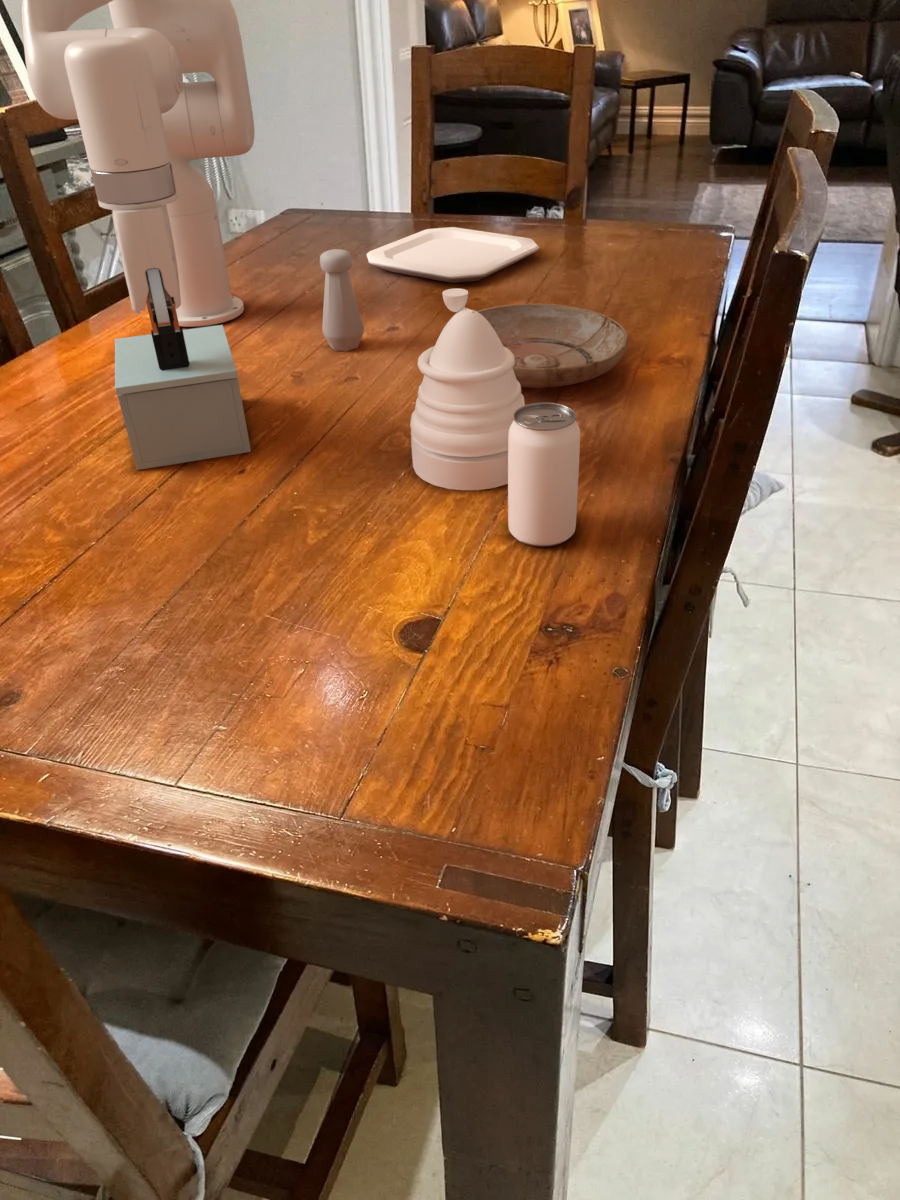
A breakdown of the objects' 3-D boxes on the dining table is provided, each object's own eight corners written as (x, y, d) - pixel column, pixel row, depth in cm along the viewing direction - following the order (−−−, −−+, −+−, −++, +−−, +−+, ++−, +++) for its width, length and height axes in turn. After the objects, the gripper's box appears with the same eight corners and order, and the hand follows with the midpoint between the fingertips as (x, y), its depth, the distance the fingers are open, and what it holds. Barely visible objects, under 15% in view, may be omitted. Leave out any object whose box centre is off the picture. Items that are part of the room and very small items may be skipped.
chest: (251, 452, 106) (237, 378, 101) (136, 470, 103) (117, 395, 98) (236, 399, 118) (224, 331, 113) (133, 414, 116) (116, 345, 110)
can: (504, 516, 92) (503, 402, 85) (568, 511, 93) (573, 398, 86) (513, 551, 87) (513, 433, 80) (581, 546, 87) (588, 428, 80)
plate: (438, 236, 178) (437, 224, 176) (550, 253, 165) (550, 240, 164) (353, 270, 162) (352, 257, 160) (470, 292, 149) (470, 278, 148)
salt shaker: (358, 354, 129) (349, 258, 122) (319, 352, 130) (307, 257, 123) (369, 339, 134) (361, 245, 126) (331, 337, 135) (321, 245, 127)
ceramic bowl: (464, 414, 112) (463, 375, 109) (436, 345, 131) (434, 310, 128) (650, 396, 114) (654, 356, 112) (596, 330, 133) (598, 295, 130)
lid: (238, 377, 100) (236, 370, 100) (116, 395, 97) (114, 388, 97) (223, 331, 113) (222, 324, 113) (116, 345, 110) (114, 338, 110)
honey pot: (390, 458, 103) (376, 296, 93) (481, 425, 109) (478, 269, 99) (459, 503, 95) (453, 329, 84) (554, 464, 101) (560, 298, 90)
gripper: (96, 174, 96) (137, 347, 106) (94, 206, 84) (141, 397, 95) (170, 167, 97) (204, 338, 108) (179, 197, 86) (215, 386, 96)
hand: (174, 365), depth 101 cm, fingers closed
